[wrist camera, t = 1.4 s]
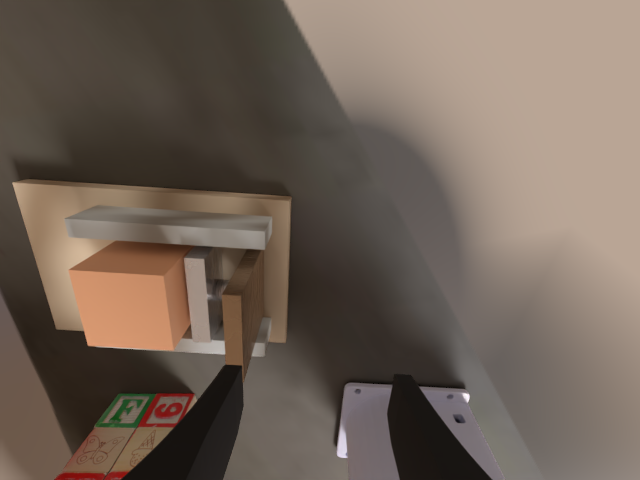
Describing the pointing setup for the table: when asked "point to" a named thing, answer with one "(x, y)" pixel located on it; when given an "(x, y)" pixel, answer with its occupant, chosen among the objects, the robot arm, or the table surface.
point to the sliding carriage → (226, 301)
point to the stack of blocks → (126, 435)
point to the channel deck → (156, 240)
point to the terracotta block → (133, 295)
